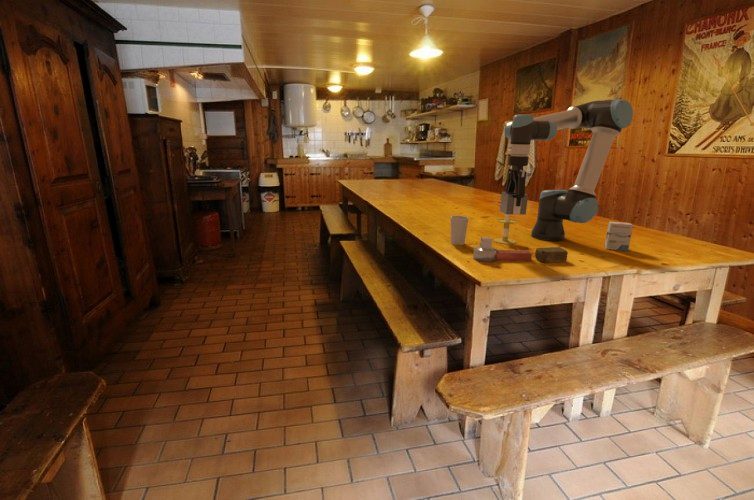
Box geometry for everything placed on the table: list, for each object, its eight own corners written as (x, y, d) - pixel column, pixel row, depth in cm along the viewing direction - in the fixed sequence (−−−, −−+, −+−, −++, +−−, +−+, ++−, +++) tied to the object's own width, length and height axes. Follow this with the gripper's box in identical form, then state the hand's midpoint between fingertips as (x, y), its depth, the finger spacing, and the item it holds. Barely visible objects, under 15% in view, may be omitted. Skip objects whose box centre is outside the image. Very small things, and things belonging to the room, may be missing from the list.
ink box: (625, 248, 178) (630, 222, 174) (628, 251, 173) (633, 225, 170) (604, 246, 180) (608, 221, 177) (606, 249, 176) (610, 223, 172)
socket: (518, 210, 169) (520, 191, 167) (525, 214, 161) (528, 194, 159) (499, 210, 169) (501, 191, 166) (506, 214, 161) (508, 194, 159)
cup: (466, 246, 177) (468, 219, 174) (448, 244, 179) (450, 218, 175) (466, 241, 185) (468, 216, 181) (449, 240, 186) (450, 215, 183)
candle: (492, 238, 192) (498, 181, 184) (514, 239, 190) (521, 182, 182) (494, 243, 182) (500, 184, 175) (517, 244, 181) (524, 185, 173)
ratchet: (524, 255, 165) (527, 235, 162) (533, 262, 156) (536, 241, 154) (470, 255, 164) (472, 235, 162) (476, 262, 156) (478, 240, 153)
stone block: (533, 259, 161) (535, 247, 160) (559, 258, 163) (561, 246, 161) (541, 263, 156) (543, 251, 154) (568, 262, 157) (570, 250, 156)
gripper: (501, 154, 168) (495, 207, 175) (518, 156, 148) (512, 216, 155) (518, 154, 168) (512, 207, 175) (538, 157, 148) (531, 217, 155)
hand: (512, 211), depth 165 cm, fingers closed on socket, 8 cm apart
